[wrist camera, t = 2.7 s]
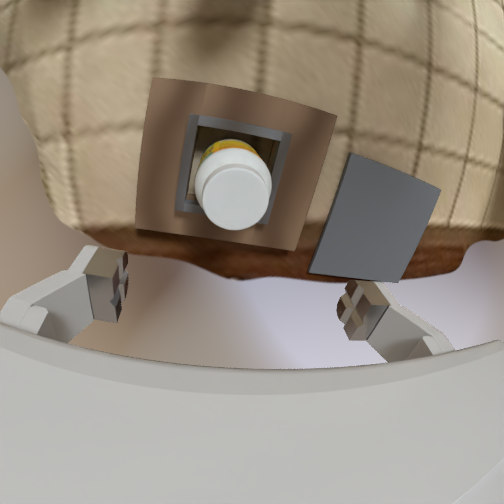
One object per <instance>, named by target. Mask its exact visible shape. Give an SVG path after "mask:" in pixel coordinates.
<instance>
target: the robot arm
mask: <svg viewBox="0 0 504 504" xmlns="http://www.w3.org/2000/svg"><path fill="white" fill-rule="evenodd" d="M127 264H128V254H127V252H126V251H121V250H115V249H109V248H103V247H98V246H90V245H86V246H85V247H84V248H83V249H82V251H81V252H80V253H79V255H78V256H77V258H76V259H75V261H74V262H73V263H72V265H71V267H70V268H69V269H68V271H66V270H63V271H61V272H59V273H57V274H55V275H53V276H51V277H49V278H46V279H44V280H43V281H41V282H39V283H37V284H35V285H33V286H31V287H29V288H27V289H25V290H23V291H21V292H19V293H17V294H15V295H14V296H12V297H10V298H9V300H8V301H7V303H6V304H5V306H4V307H3V309H2V310H1V312H0V504H504V342H503V341H501V340H495V341H492V342H488V343H484V344H480V345H477V346H473V347H469V348H464V349H461V350H456V351H455V349H454V348H453V347H452V345H451V344H450V342H449V341H448V339H447V338H446V336H445V335H444V334H443V333H442V332H441V331H439V330H437V329H436V328H435V327H433V326H432V325H430V324H429V323H427V322H426V321H424V320H423V319H421V318H420V317H419V316H417V315H416V314H414V313H412V312H411V311H410V310H408V309H407V308H405V307H404V306H400V304H399V303H398V302H397V300H396V299H395V298H394V296H393V295H392V294H391V292H390V291H389V290H388V288H387V287H386V286H385V285H384V283H382V282H374V281H358V280H350V281H349V282H348V283H347V285H346V287H345V291H346V293H345V294H344V295H343V296H341V297H340V299H339V301H338V304H337V316H338V318H339V320H340V321H342V322H343V323H344V324H345V325H344V330H345V332H346V334H347V336H348V338H349V340H367V342H368V343H369V344H370V345H371V346H372V347H373V348H374V349H375V350H376V351H377V352H378V353H379V354H380V355H381V356H382V357H383V358H384V359H385V360H386V361H387V362H388V363H380V364H371V365H361V366H349V367H334V368H315V369H242V368H223V367H208V366H197V365H187V364H177V363H168V362H160V361H154V360H146V359H141V358H134V357H128V356H122V355H117V354H112V353H107V352H102V351H97V350H93V349H88V348H84V347H80V346H76V345H72V344H68V342H69V341H70V340H72V339H73V338H74V337H75V336H76V335H77V334H79V333H80V332H81V331H82V330H83V329H84V328H85V327H87V326H88V325H89V324H90V323H91V322H93V321H94V319H96V320H101V321H107V322H114V323H117V322H118V319H119V316H120V313H121V310H122V306H121V302H123V301H124V300H125V298H126V295H127V290H128V281H129V280H128V279H129V278H128V273H127V271H126V270H125V268H126V267H127Z"/></svg>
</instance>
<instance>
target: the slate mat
mask: <svg viewBox="0 0 504 504" xmlns="http://www.w3.org/2000/svg"><path fill="white" fill-rule="evenodd" d="M440 192H441V190H440V189H439V188H436V187H434V186H432V185H430V184H428V183H426V182H424V181H421V180H419V179H417V178H415V177H412V176H410V175H408V174H405V173H403V172H401V171H398V170H396V169H393V168H391V167H388V166H386V165H383V164H381V163H378V162H375V161H373V160H370V159H367V158H364V157H362V156H359V155H356V154H353V153H350V152H349V156H348V159H347V162H346V165H345V168H344V171H343V174H342V177H341V180H340V183H339V186H338V189H337V192H336V195H335V198H334V201H333V204H332V207H331V209H330V212H329V215H328V218H327V221H326V223H325V226H324V229H323V232H322V234H321V237H320V240H319V242H318V245H317V248H316V250H315V253H314V256H313V258H312V261H311V263H310V266H309V268H308V272H309V273H316V274H325V275H333V276H341V277H350V278H358V279H367V280H376V281H384V282H394V283H398V282H399V280H400V278H401V276H402V275H403V273H404V271H405V269H406V267H407V265H408V263H409V261H410V259H411V257H412V255H413V253H414V251H415V249H416V247H417V245H418V243H419V241H420V239H421V237H422V235H423V232H424V230H425V228H426V226H427V224H428V221H429V219H430V217H431V214H432V212H433V209H434V207H435V205H436V202H437V200H438V197H439V195H440Z"/></svg>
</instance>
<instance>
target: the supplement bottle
mask: <svg viewBox="0 0 504 504" xmlns="http://www.w3.org/2000/svg"><path fill="white" fill-rule="evenodd" d="M194 187H195V194H196V198H197V200H198V202H199V204H200V206H201V207H202V209H203V210H204V212H205V214H206V215H207V217H208V218H209V219H210V220H211V221H212V222H213V223H214V224H215V225H217V226H219V227H221V228H224V229H227V230H242V229H245V228H248V227H251V226H252V225H254V224H255V223H257V222H258V221H259V220H260V219H261V218H262V217H263V215H264V214H265V212H266V210H267V207H268V203H269V198H270V194H271V189H272V180H271V175H270V172H269V170H268V168H267V166H266V165H265V163H264V162H263V160H262V159H261V158H260V157H259V155H258V154H257V153H256V151H255V150H254V149H253V148H252V147H251V146H250V145H249V144H248V143H247V142H245V141H243V140H241V139H238V138H224V139H220V140H218V141H216V142H214V143H213V144H211V145H210V146H209V147H208V148H207V149H206V150H205V152H204V154H203V156H202V158H201V161H200V164H199V167H198V170H197V173H196V176H195V186H194Z"/></svg>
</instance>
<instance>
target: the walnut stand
mask: <svg viewBox="0 0 504 504" xmlns="http://www.w3.org/2000/svg"><path fill="white" fill-rule="evenodd" d="M336 119H337V116H336V115H333V114H331V113H328V112H325V111H322V110H319V109H315V108H312V107H309V106H306V105H302V104H299V103H296V102H292V101H289V100H285V99H281V98H277V97H273V96H269V95H265V94H261V93H256V92H252V91H247V90H242V89H237V88H232V87H227V86H221V85H215V84H208V83H201V82H194V81H186V80H176V79H165V78H153V80H152V85H151V90H150V95H149V100H148V106H147V111H146V117H145V124H144V130H143V138H142V145H141V153H140V162H139V172H138V184H137V198H136V216H135V228H139V229H146V230H153V231H160V232H167V233H174V234H181V235H188V236H195V237H202V238H209V239H216V240H223V241H230V242H237V243H244V244H251V245H257V246H264V247H271V248H278V249H284V250H291V251H295V249H296V246H297V243H298V240H299V237H300V234H301V231H302V228H303V225H304V222H305V219H306V216H307V213H308V210H309V207H310V204H311V201H312V198H313V195H314V192H315V188H316V185H317V182H318V179H319V176H320V173H321V169H322V166H323V163H324V160H325V156H326V153H327V150H328V146H329V143H330V140H331V136H332V133H333V129H334V126H335V122H336ZM199 125H200V126H206V127H213V128H219V129H224V130H230V131H235V132H241V133H246V134H251V135H255V136H260V137H265V138H269V139H273V140H274V142H273V146H272V150H271V154H270V158H269V162H268V166H267V168H268V170H269V172H270V175H271V180H272V189H271V194H270V198H269V203H268V207H267V210H266V212H265V214H264V215H263V217H262V218H261V219H260V220H259V221H258V222H257V223H255V224H254V225H252V226H251V227H248V228H245V229H242V230H227V229H224V228H221V227H219V226H217V225H215V224H214V223H213V222H212V221H211V220H210V219H209V218H208V217H207V215H206V214H205V212H204V210H203V209H202V207H201V206H200V204H199V202H198V200H197V198H196V195H193V194H187V193H188V187H189V180H190V174H191V168H192V162H193V156H194V151H195V145H196V140H197V135H198V130H199Z"/></svg>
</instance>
